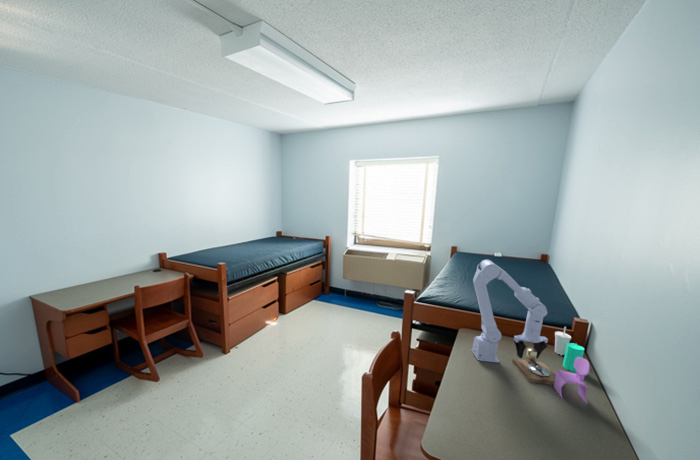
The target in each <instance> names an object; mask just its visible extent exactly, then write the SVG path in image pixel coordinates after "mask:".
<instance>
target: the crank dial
mask: <svg viewBox="0 0 700 460" xmlns="http://www.w3.org/2000/svg"><path fill="white" fill-rule="evenodd" d="M525 357H526V360H529V361H530V362H531V364H528V369H529V370H530V371H531V372H533V373H534V374H536V375H539V376H543V377H548V376H549V375H550V373H549V371H548V370H547V369H546V368H544V367H542V366H540V365H538V364H537V363H536V361H537V358H536V357H537V350H535V349H534V347H533V348H532V347H527V350H526V355H525Z"/></svg>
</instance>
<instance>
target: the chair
mask: <svg viewBox="0 0 700 460" xmlns="http://www.w3.org/2000/svg"><path fill="white" fill-rule="evenodd" d="M574 368H575V370H576V371H577V373H576V372H572V371H565V370H561V369H557V371H556V372H555V374H556V375H555V383H554V385H553V388H554V390H555V391H556V393H557V394H558V393H559V394H558V395H559V396H561V397H560V398H561V399H563V394H562V388H563V387H564V385H566V384H570V385H571V384H572V385H576V386H578V387H577V395H579V396H580V398H582V400H583V401H584V403H586V405H589V403H588V399H587V391H588V387H587V383H586V381H584V380H585V376H588V375H589V374H590V371H591V370H590V363H589V361H588V360H587V359H586V358H584V357H583V358H581V357H577V358H576V359H575V362H574Z"/></svg>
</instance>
